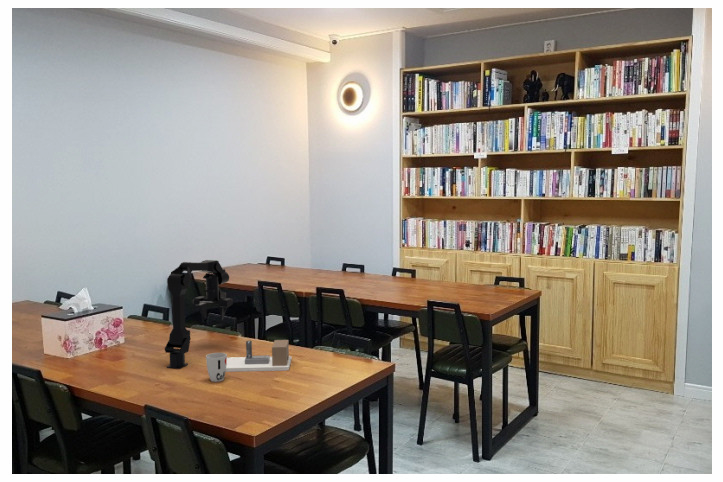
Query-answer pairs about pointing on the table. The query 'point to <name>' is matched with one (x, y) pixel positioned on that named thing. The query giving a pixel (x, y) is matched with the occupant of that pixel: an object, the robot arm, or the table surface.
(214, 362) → the cup
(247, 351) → the bolt
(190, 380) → the table surface
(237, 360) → the base
